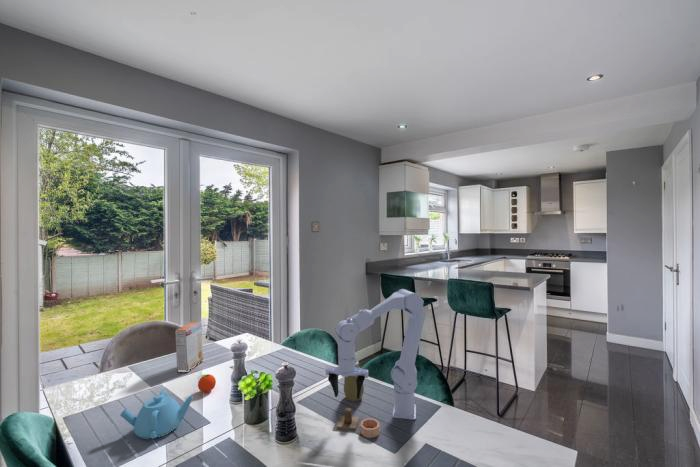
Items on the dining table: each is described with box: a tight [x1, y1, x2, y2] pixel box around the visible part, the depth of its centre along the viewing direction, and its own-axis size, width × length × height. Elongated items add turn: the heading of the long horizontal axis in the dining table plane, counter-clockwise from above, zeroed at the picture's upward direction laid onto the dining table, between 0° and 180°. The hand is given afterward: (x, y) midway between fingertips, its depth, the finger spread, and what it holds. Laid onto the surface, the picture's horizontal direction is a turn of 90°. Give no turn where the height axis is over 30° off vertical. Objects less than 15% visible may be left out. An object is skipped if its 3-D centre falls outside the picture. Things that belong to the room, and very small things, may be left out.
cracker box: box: [174, 321, 204, 371], centre depth 164 cm, size 14×6×21 cm, turn 175°
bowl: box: [359, 417, 381, 439], centre depth 108 cm, size 6×6×3 cm
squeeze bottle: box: [343, 357, 365, 403], centre depth 129 cm, size 8×8×18 cm
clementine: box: [197, 374, 217, 393], centre depth 139 cm, size 8×7×7 cm
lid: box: [337, 407, 359, 431], centre depth 112 cm, size 6×6×5 cm
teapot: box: [119, 390, 194, 440], centre depth 113 cm, size 15×17×11 cm
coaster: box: [331, 415, 364, 434], centre depth 112 cm, size 9×9×1 cm
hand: (347, 396), depth 112 cm, fingers open, 7 cm apart
